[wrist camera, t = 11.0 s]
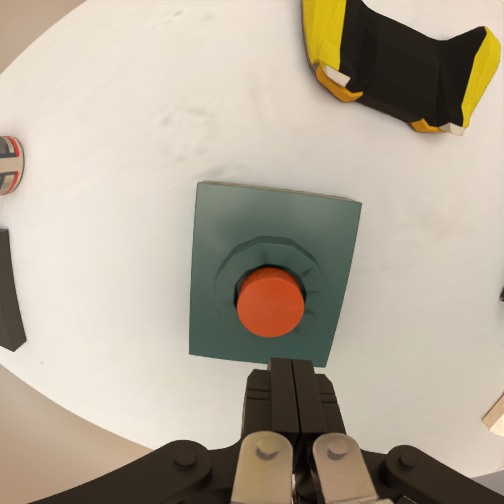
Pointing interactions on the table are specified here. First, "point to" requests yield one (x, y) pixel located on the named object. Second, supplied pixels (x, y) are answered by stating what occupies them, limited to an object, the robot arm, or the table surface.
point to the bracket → (496, 418)
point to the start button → (270, 302)
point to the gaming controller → (398, 64)
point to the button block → (268, 255)
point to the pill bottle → (10, 164)
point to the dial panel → (8, 301)
